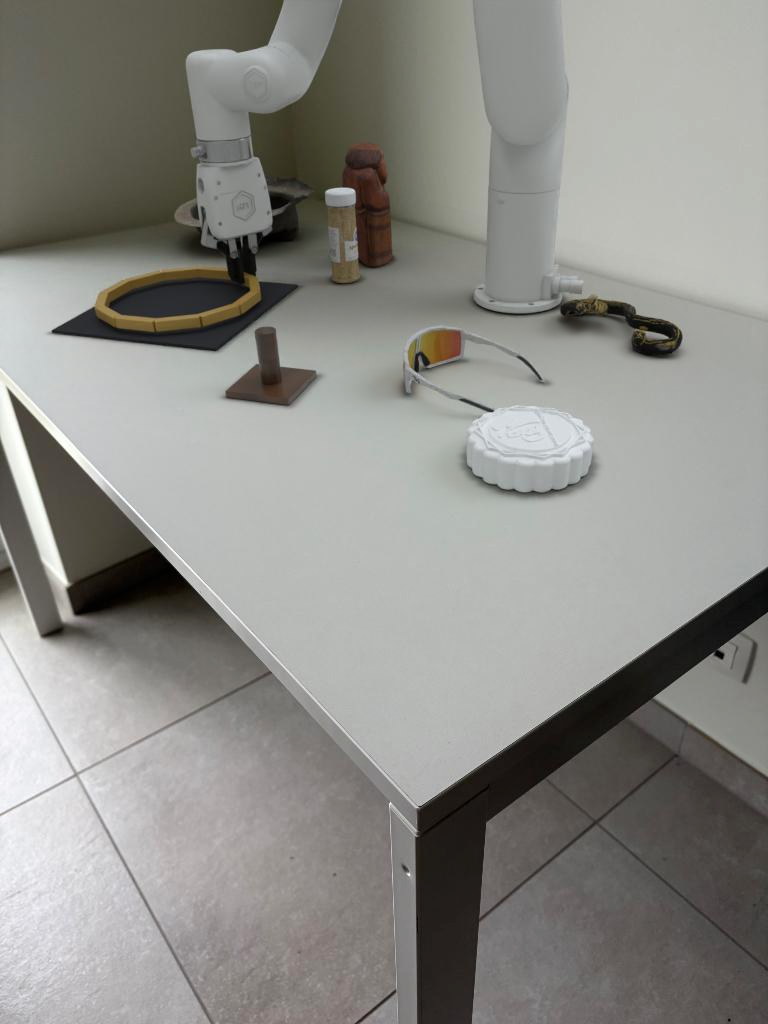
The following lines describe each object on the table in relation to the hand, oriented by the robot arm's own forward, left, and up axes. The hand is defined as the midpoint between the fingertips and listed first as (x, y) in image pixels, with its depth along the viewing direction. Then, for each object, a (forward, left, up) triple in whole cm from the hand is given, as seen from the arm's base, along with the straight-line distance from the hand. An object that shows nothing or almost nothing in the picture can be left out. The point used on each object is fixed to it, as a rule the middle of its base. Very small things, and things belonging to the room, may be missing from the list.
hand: (243, 279), depth 123 cm
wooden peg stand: (-19, +31, -2) cm, 36 cm away
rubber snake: (-56, +5, -2) cm, 57 cm away
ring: (+6, +10, -1) cm, 11 cm away
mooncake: (-51, +40, -2) cm, 65 cm away
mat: (+6, +10, -2) cm, 11 cm away
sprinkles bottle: (-13, -8, -2) cm, 16 cm away
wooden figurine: (-13, -20, -2) cm, 24 cm away
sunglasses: (-42, +24, -2) cm, 48 cm away
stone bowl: (+13, -25, -2) cm, 29 cm away
